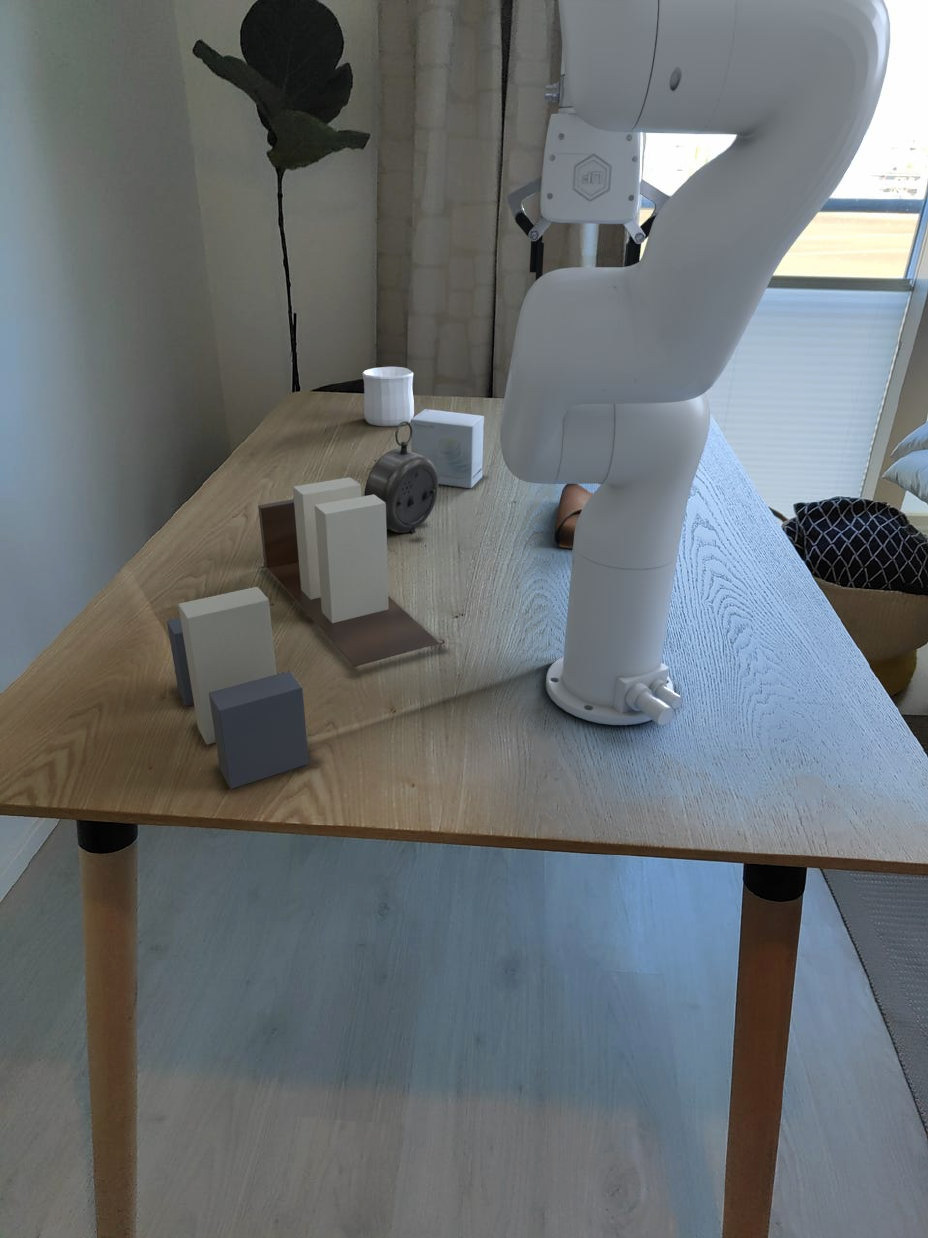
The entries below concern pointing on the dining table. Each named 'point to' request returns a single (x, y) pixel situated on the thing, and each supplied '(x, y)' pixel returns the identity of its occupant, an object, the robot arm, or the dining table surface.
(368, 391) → the cup
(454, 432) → the cosmetics box
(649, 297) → the robot arm
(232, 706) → the grey book
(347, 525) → the cream book
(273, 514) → the book rack
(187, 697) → the grey book
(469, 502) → the dining table surface
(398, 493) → the alarm clock
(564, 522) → the sunglasses case
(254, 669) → the cream book
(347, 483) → the cream book
